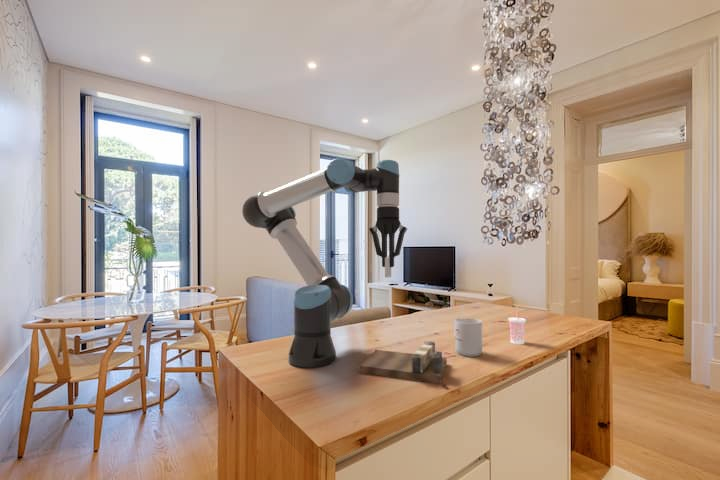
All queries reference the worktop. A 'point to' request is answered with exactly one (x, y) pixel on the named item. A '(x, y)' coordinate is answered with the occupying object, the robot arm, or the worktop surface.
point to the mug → (468, 336)
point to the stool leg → (423, 357)
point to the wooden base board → (403, 366)
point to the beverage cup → (517, 329)
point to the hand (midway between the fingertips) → (388, 276)
